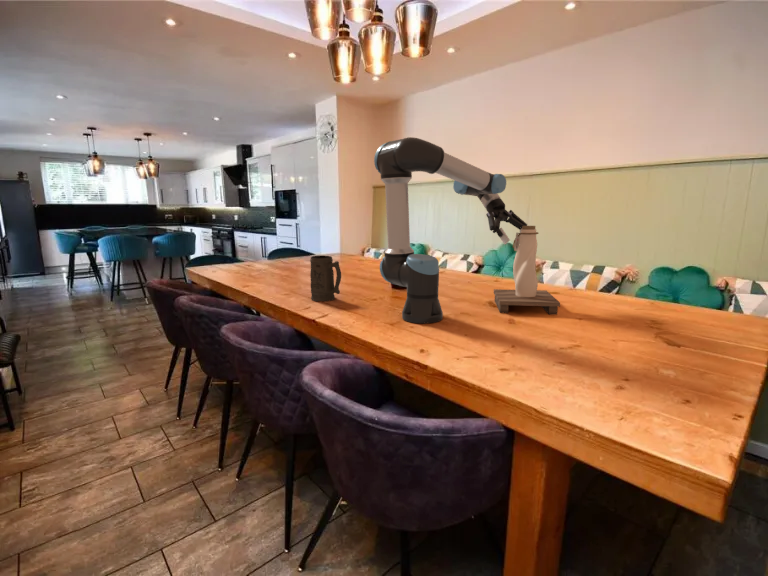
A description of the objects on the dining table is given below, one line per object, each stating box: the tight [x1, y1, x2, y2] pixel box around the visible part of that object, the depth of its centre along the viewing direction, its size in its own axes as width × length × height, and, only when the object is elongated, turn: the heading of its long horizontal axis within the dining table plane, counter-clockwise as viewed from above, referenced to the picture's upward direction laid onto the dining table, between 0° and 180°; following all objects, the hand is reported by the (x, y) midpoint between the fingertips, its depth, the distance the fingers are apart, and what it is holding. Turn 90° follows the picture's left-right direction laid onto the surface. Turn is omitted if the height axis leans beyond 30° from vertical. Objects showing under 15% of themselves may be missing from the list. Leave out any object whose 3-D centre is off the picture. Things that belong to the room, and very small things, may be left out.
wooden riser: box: [493, 288, 561, 316], centre depth 159 cm, size 22×22×5 cm
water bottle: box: [512, 225, 539, 297], centre depth 155 cm, size 10×9×28 cm
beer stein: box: [309, 255, 342, 302], centre depth 175 cm, size 15×11×20 cm
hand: (518, 241), depth 158 cm, fingers open, 13 cm apart
